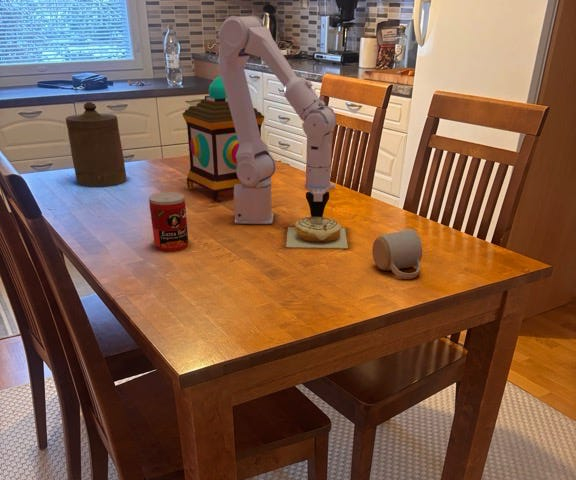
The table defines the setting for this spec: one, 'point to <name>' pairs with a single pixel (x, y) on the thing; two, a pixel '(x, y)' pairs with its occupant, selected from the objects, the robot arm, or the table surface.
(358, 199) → the table surface
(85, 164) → the wooden container
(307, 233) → the decorated donut
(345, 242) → the placemat
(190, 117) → the decorative lantern
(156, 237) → the canned food
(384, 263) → the ceramic mug
